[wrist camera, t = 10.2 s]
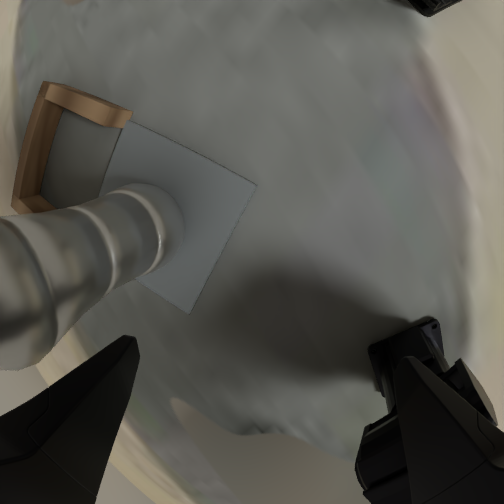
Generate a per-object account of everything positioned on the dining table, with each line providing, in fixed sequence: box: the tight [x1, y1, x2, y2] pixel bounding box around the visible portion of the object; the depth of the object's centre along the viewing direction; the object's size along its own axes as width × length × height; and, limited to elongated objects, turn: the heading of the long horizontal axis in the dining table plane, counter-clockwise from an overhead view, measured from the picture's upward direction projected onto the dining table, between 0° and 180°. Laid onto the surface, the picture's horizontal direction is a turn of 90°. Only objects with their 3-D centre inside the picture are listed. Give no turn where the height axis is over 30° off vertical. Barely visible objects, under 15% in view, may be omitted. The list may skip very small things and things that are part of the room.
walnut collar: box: [11, 81, 133, 215], centre depth 21 cm, size 10×13×3 cm
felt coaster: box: [98, 120, 258, 314], centre depth 22 cm, size 12×12×1 cm
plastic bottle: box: [0, 183, 185, 370], centre depth 13 cm, size 6×7×20 cm
